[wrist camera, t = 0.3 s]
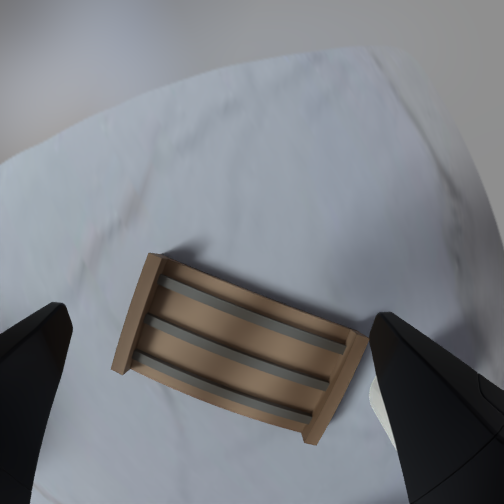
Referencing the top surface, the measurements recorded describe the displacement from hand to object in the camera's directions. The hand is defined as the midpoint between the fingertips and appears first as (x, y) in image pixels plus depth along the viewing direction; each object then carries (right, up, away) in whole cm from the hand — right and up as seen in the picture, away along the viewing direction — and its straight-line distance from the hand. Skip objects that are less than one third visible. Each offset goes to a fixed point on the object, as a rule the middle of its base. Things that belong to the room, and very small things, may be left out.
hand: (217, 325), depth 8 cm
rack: (0, -5, +14) cm, 15 cm away
